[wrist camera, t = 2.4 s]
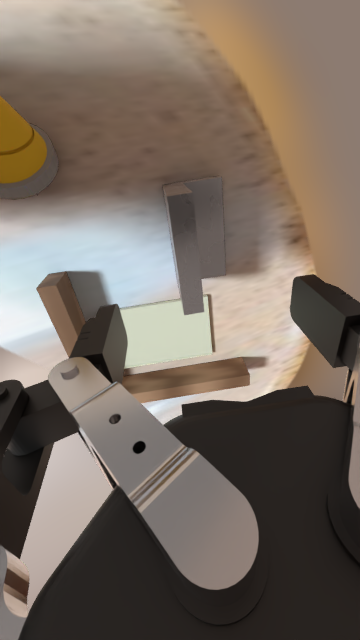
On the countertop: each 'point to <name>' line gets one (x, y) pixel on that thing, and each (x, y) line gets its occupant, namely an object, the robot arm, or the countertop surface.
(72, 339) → the corner walls
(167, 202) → the angle bracket
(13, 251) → the countertop surface
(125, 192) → the countertop surface
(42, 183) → the yellow spiral cone
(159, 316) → the mat
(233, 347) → the countertop surface
